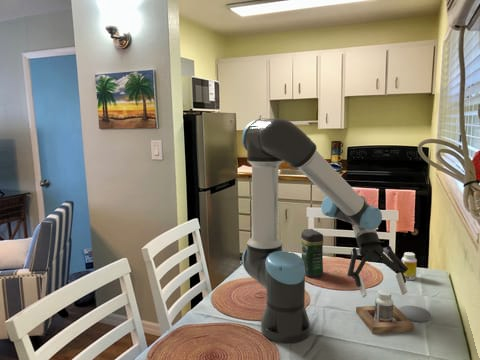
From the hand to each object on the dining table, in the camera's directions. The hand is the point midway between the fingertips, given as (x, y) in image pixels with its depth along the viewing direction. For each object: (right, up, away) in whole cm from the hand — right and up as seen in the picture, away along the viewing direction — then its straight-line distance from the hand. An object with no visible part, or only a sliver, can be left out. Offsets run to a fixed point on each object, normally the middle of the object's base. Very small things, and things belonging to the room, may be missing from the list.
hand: (384, 294), depth 125 cm
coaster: (+11, -7, +2) cm, 13 cm away
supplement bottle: (+21, -3, +31) cm, 38 cm away
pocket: (-1, -8, -2) cm, 8 cm away
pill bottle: (-1, -8, -2) cm, 8 cm away
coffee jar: (-17, -2, +38) cm, 41 cm away
